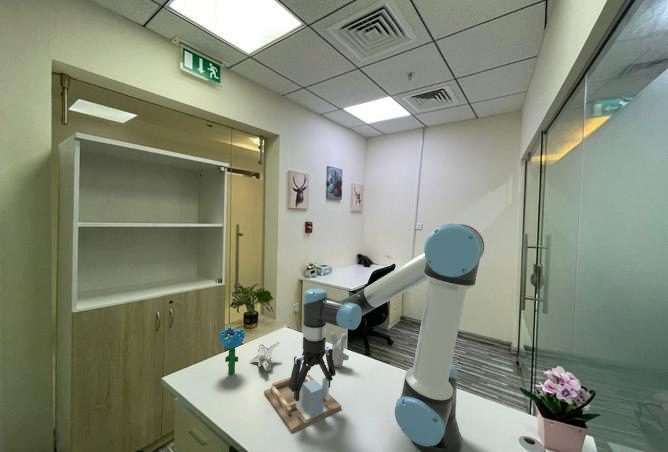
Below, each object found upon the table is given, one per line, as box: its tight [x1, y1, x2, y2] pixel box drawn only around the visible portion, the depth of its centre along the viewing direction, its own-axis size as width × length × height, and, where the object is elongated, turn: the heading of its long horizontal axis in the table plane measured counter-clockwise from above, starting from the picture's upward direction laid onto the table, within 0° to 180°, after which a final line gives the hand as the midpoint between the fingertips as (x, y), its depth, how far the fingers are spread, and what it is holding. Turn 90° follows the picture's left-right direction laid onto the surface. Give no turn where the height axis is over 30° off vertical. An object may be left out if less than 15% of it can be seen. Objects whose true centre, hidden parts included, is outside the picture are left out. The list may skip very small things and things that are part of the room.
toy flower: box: [219, 326, 245, 376], centre depth 111 cm, size 9×9×18 cm
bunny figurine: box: [329, 331, 350, 369], centre depth 118 cm, size 10×5×15 cm, turn 78°
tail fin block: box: [302, 378, 324, 417], centre depth 89 cm, size 6×4×8 cm
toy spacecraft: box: [249, 341, 280, 372], centre depth 115 cm, size 8×15×15 cm
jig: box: [263, 374, 342, 434], centre depth 95 cm, size 22×19×3 cm
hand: (312, 403), depth 89 cm, fingers open, 9 cm apart
